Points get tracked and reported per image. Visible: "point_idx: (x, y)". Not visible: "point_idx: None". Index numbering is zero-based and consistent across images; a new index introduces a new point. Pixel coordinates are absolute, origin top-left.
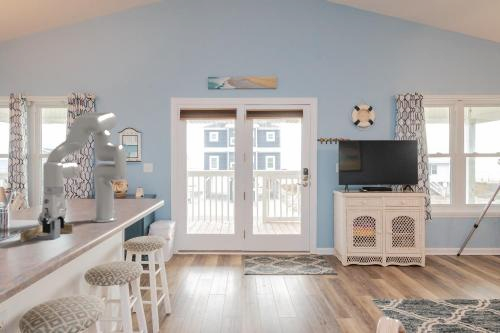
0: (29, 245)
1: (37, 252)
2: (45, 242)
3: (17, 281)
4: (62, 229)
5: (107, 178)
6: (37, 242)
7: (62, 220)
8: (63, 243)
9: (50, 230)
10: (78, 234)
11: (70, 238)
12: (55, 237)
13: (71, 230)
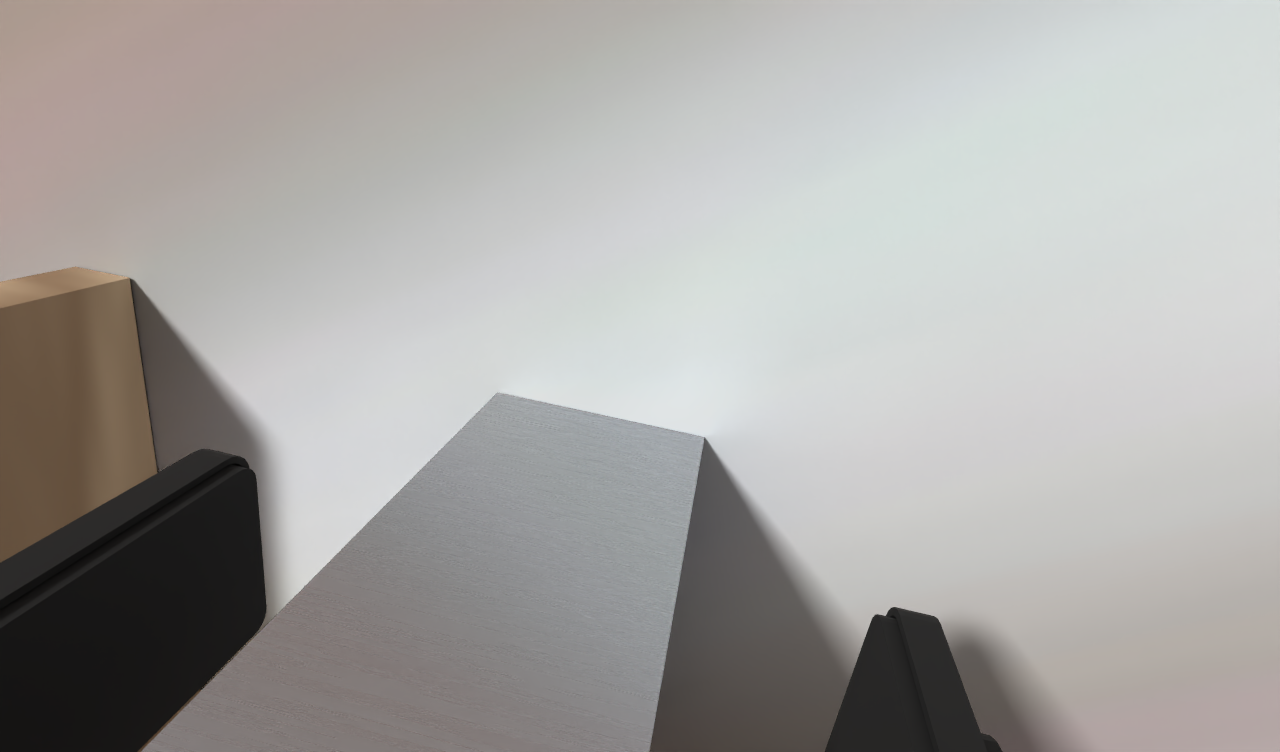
0: (1182, 728)
1: None
2: (973, 528)
3: None
4: (87, 511)
5: None
6: None
7: (13, 641)
8: (1244, 39)
9: (919, 653)
10: (201, 59)
11: (627, 90)
12: (666, 447)
13: (69, 302)
